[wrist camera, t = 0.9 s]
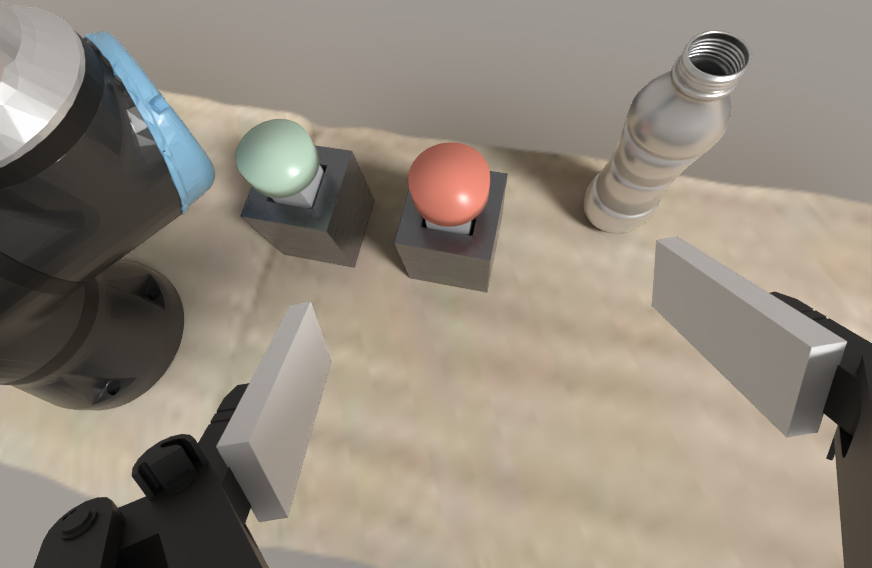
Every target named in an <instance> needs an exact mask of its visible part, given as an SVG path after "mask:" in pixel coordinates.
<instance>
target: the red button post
mask: <svg viewBox="0 0 872 568" xmlns="http://www.w3.org/2000/svg"><path fill="white" fill-rule="evenodd" d="M507 175H508V174H506V173H500V172H493V171H490V187H489V197H488V201H487V204H486V206H485V208H484V209H483V211H482V212H481V213H480V214H479V215H478V216H477V218H476V223H475V228H474V233H473V236H469V235H463V234H457V233H451V232H445V231H439V230H433V229H427V225H426V221H425V219H424V218H423V217H422V216H421V215H420V214H419V213H418V211H417V210H416V208H415V206H414V204H413V200H412V196H411V193H410V189H409V191H408V194H407V198H406V202H405V206H404V209H403V213H402V217H401V221H400V224H399V228H398V232H397V235H396V239H395V243H394V244H395V246H396V248H397V250H398V253H399V255H400V257H401V259H402V262H403V264H404V266H405V268H406V270H407V273H408V275H409V277H410V278H413V279H418V280H423V281H429V282H434V283H439V284H445V285H450V286H455V287H461V288H466V289H471V290H477V291H482V292H487V291H488V286H489V280H490V275H491V270H492V265H493V260H494V255H495V250H496V244H497V239H498V234H499V229H500V224H501V218H502V211H503V204H504V196H505V189H506V182H507Z"/></svg>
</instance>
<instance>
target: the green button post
mask: <svg viewBox="0 0 872 568" xmlns="http://www.w3.org/2000/svg"><path fill="white" fill-rule="evenodd" d="M315 147H316V149H317V151H318V154H319V159H320V164H319V165H320V166H321V168H322V170H323V171H324V173H325V174H324V177H323V180H322V183H321V186H320V189H319V192H318V195H317V198H316V201H315V204H314V207H313V209H309V208H303V207H297V206H291V205H285V204H279V203H276V202H275V201H274V200H273V199H272V198H271V197H267V196H264V195H262V194H261V193H259V192H258V191H257V190H256V189H255V188H254V187H253V186H252V187H251V190H250V192H249V195H248V198H247V200H246V203H245V205H244V208H243V211H242V213H241V217H242V218H243V219H244V220H245V221H246V222H247V223H249V224H250V225H251V226H252V227H253V228H254V229H255V230H257V231H258V232H259V233H260V234H261V235H262V236H264V237H265V238H266V239H267V240H268V241H269V242H270V243H272V244H273V245H274V246H275V247H276V248H277V249H278V250H280V251H281V252H282V253H283V254H285V255H290V256H295V257H301V258H306V259H311V260H317V261H322V262H327V263H333V264H338V265H343V266H349V267H354V268H355V264H356V261H357V257H358V254H359V251H360V247H361V244H362V240H363V237H364V234H365V230H366V227H367V223H368V220H369V216H370V213H371V210H372V206H373V203H374V199H373V196H372V194H371V192H370V190H369V187H368V185H367V183H366V181H365V179H364V176H363V174H362V172H361V170H360V168H359V165H358V163H357V161H356V159H355V157H354V154H353V152H352V151H349V150H342V149H335V148H328V147H321V146H315Z"/></svg>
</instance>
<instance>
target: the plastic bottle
mask: <svg viewBox="0 0 872 568" xmlns="http://www.w3.org/2000/svg"><path fill="white" fill-rule="evenodd" d="M751 59H752V53H751V50H750V48H749V46H748V44H747V43H746V42H745V41H744V40H743V39H742V38H740V37H738V36H737V35H735V34H732V33H729V32H725V31H707V32H703V33H700V34H698V35H696V36H695V37H693V38H692V39H691V40H690V42H688V44H687V45H686V46H685V48H684V50H683V52H682V54H681V56H679V57H678V59H677V60H676V61H675V63H674V65H673V67H672V69H671V71H669V72H667V73H665V74H663V75H661V76H659V77H657V78H655V79H653V80H652V81H650V82H649V83H648V84H647V85H646V86H645V87H644V88H643V89H642V90H640V91H639V92H638V94H637V95H636V96H635V98H634V99H633V101H632V104H631V106H630V109H629V111H628V113H627V117H626V120H625V123H624V127H623V130H622V134H621V137H620V140H619V142H618V144H617V146H616V149H615V151H614V153H613V155H612V157H611V158H610V160H609V161H608V163H607V164H606V165H605V167H604V168H603V170H602V171H600V172H599V173H598V174H597V175H596V176H595V178H594V179H593V180H592V181H591V183H590V184H589V185H588V187H587V189H586V192H585V198H584V211H585V214H586V216H587V218H588V219H589V221H590V222H591V223H592V224H593V225H594V226H596V227H597V228H599V229H601V230H603V231H606V232H609V233H615V234H622V233H627V232H630V231H633V230H635V229H637V228H638V227H640V226H641V225H643V224H644V223H646V222H647V221H648V220H649V219H650V218H651V217H652V215H653V214H654V212H655V210H656V208H657V206H658V204H659V201H660V199H661V197H662V195H663V194H664V192H665V191H666V189H667V188H668V186H669V185H670V184H671V183H672V182H673V181H674V180H675V179H676V177H678V176H679V175H680V174H681V172H683V171H684V170H685V168H687V167H688V166H689V165H690V164H692V163H693V162H694V161H695V160H697V159H698V158H699V157H700V156H702V155H703V154H704V153H705V152H707V151H708V150H709V149H710V148H711V147H712V146H713V145H714V144H715V143H716V142H718V141H719V140H720V139H721V137H722V136H723V134H724V133H725V131H726V128H727V126H728V123H729V120H730V118H731V112H732V106H731V98H730V93H731V92H732V91H733V90H734V89H735V87H736V86H737V85H738V83H739V81H740V78H741V77H742V75H743V74H744V73H745V71H746V70H747V68H748V67H749V65H750V63H751Z"/></svg>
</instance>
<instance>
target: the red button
mask: <svg viewBox="0 0 872 568" xmlns="http://www.w3.org/2000/svg"><path fill="white" fill-rule="evenodd" d="M408 185H409V189H410V193H411V196H412V200H413V204H414V206H415V208H416V210H417V211H418V213H419V214H420V215H421V216H422V217H423V218H424V219H425V221H426V225H427V229H433V230H439V231H445V232H451V233H457V234H463V235H469V236H473V233H474V228H475V223H476V218H477V216H478V215H479V214H480V213H481V212H482V211H483V209H484V208H485V206H486V204H487V201H488V197H489V187H490V171H489V167H488V165H487V163H486V161H485V159H484V158H483V157H482V155H481V154H480V153H479V152H477V151H476V150H475V149H473V148H471V147H469V146H467V145H464V144H460V143H442V144H438V145H435V146H432V147H430V148H428V149H426V150H425V151H424V152H422V153H421V154H420V155H419V156H418V157H417V158H416V159H415V161H414V162H413V164H412V166H411V168H410V171H409V176H408Z"/></svg>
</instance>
